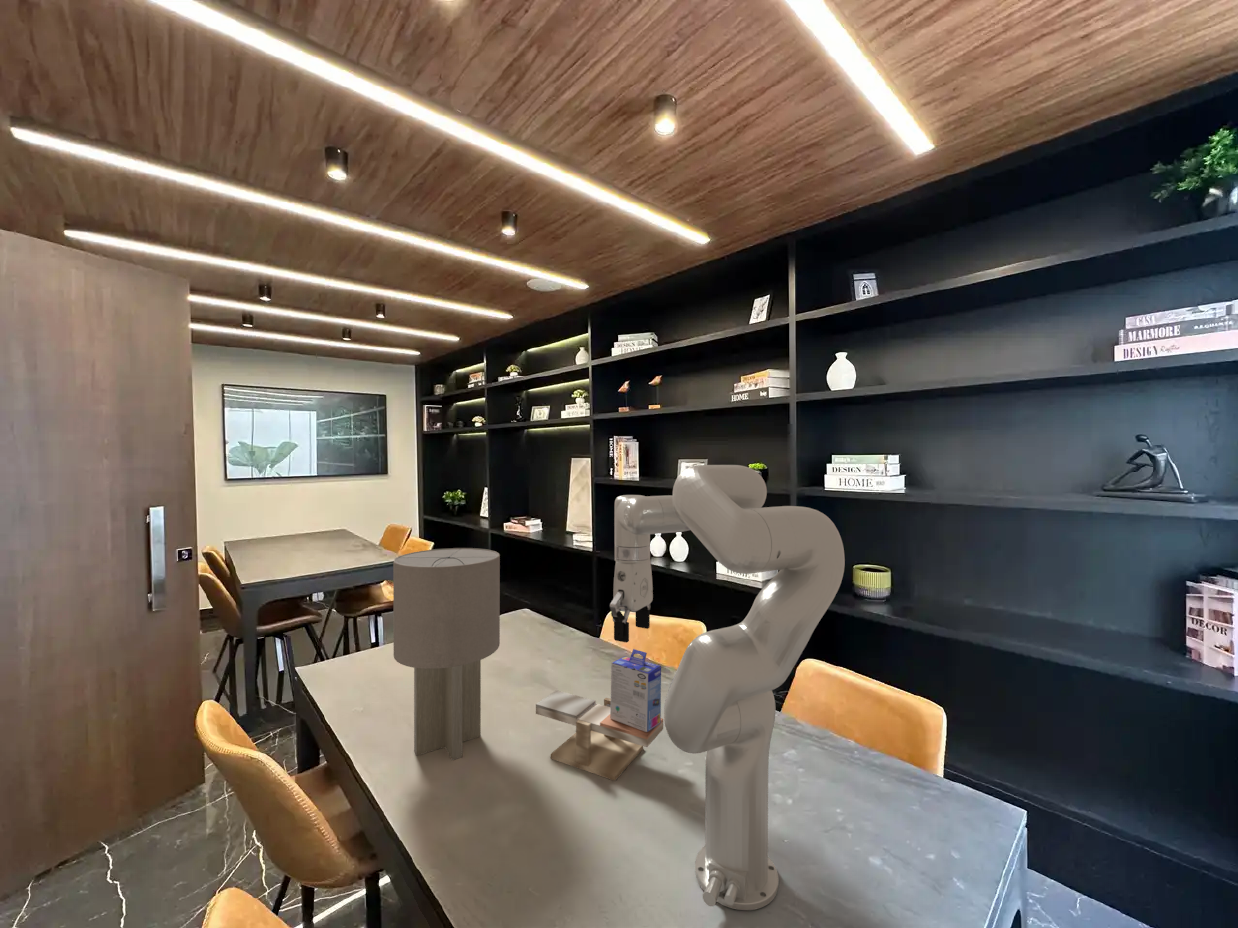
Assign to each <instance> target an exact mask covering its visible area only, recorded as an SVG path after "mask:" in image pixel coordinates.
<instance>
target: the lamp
mask: <svg viewBox="0 0 1238 928" xmlns="http://www.w3.org/2000/svg"><path fill="white" fill-rule="evenodd" d="M500 556H501V554H500V553H499V552H497V551H495V550H491V549H486V548H475V547H474V548H473V547H453V548H435V549H428V550H427V549H425V550H421V551H413V552H409V553H405V554H402V555H399V556H398V557H395V558H394V559H393V571H392V573H393V580H392V581H393V659H394V660H395V661H396V662H397V663H398V664H400V665H402V666H405V667H409V668H413V669H414V670H413V697H414V698H413V705H414V706H413V708H414V710H413V721H414V723H413V726H414V727H413V730H414V731H413V732H414V733H413V734H414V736H413V745H414V746H413V752H414V753H415V755H416V756H417V757H418V756H420V755H423V754H427V753H430V752H434V751H436V750H441V749H443V748H444V749H445V750H446V752H447V754H448V756H449V758H450V759H451V761H454V760H458V759H460V758H463V743H464V742H466V741H470V740H473V739H476V738H480V737H481V736H482V735H481V734H482V733H481V729H482V728H481V727H482V726H481V722H482V721H481V720H482V718H481V715H482V714H481V713H482V712H481V710H482V708H481V704H482V703H481V697H482V695H481V691H482V689H481V685H482V684H481V683H482V682H481V681H482V680H481V679H482V678H481V675H482V674H481V672H482V667H481V662H482V660H484V659H486V658H488V657H490V656H491V655H493V654H494V653H496V652H497V650H498V649H499V648H500V644H501V643H500V640H501V639H500V637H501V635H500V631H501V630H500V629H501V628H500V627H501V626H500V625H501V624H500V620H501V619H500V617H501V615H500V614H501V612H500V611H501V609H500V608H501V607H500V605H501V604H500V603H501V601H500V598H501V597H500V596H501V592H500V591H501V590H500V589H501V586H500V585H501V582H500V581H501V580H500V579H501V578H500V577H501V575H500V573H501V572H500V569H501V565H500V563H501V561H500V560H501V559H500V558H501V557H500Z"/></svg>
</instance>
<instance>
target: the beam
mask: <svg viewBox="0 0 1238 928" xmlns="http://www.w3.org/2000/svg"><path fill="white" fill-rule="evenodd" d="M610 707H611V705H609V704H607V705H606V706H604V704H600V703H597V702H596V700H594V699H592V698H587V697H583V696H580V695H576V694H573V693H569V692H566V691H565V692H564V691H561V690H557V689H556V690H555V691H553V692H552V693H550V694H548V695H547V696H546V697H544V698H542V699H541V700H540V701H538V702H537V703H535V715H538V716H541V717H545V718H549V719H552V720H555V721H559V722H562V723H565V724H569V725H572V726H575V727H576V722H577V721H578V720H581V721H585V722H588V723H591V731H595V732H598V733H601V734H604V735H608V736H611V737H614V738H618V739H621V740H624V741H628V742H631V743H634V744H638V745H641V746H643V748H648V747H649V746H650V745H651V744H652V743H653V741H654V740H655V739H656V738H657V737H658V735H659V734H660V733H661V732H662V731H663V730H664V718H662V717H661V723H660V724H659V725H657V726H656V727H654V728H653V729H651V730H650V731H648V732H644V731H642V730H639V729H636V728H634V727H631V726H629V725H626V724H623V723H621V722H618V721H615V720H613V719H610Z"/></svg>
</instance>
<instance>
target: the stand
mask: <svg viewBox="0 0 1238 928" xmlns="http://www.w3.org/2000/svg"><path fill="white" fill-rule="evenodd" d="M607 704H609V705H611V697H610V698H609V697H605V698H604V699H603V705H604V706H606V705H607ZM575 728H576V729H575V733H573V734H572V735H571V736H570V737H569V738H567V739H566V740H565V741H564V742H563V743H562V744H560V745H559V746H558V747H557V748H556V749H555V750H553V751H552V752H551V753H550V760H554V761H556V762H559V763H561V764H566V765H568V766H571V767H574V768H576V769H580V770H582V771H585V772H587V773H591V774H594V775H597V776H600V777H602V778H606V779H608V780H611V781H617V779H618V778H619V777H620V776H621V774H623V772H624V771H625V770H626V769H627V768H628V767H629V766H630V764H631V763H633V762H634V760H635V759H636V758H637V757H638V755H639V754H640V753H641V752H642V751H644V746H641V745H638V744H634V743H631V742H628V741H624V740H621V739H618V738H614V737H611V736H608V735H604V734H601V733H598V732H595V731H591V723H588V722H585V721H581V720H578V721H577V722H576V726H575Z"/></svg>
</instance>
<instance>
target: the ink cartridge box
mask: <svg viewBox="0 0 1238 928" xmlns="http://www.w3.org/2000/svg"><path fill="white" fill-rule="evenodd" d="M647 654H648V652H646V651H641V650H639V649H635V648H633V649H632V652H631V653H630V656H629V657H628V656H623V657H620V658H619V659H616V660H614V661H612V662H611V665H610V669H611V670H610V672H611V673H610V699H611V707H610V719H613V720H615V721H618V722H621V723H623V724H626V725H629V726H631V727H634V728H636V729H639V730H642V731H644V732H648V731H650V730H651V729H653V728H654V727H656V726H657V725H659V724H660V723H661V718H662V713H661V712H662V709H661V708H662V707H661V706H662V700H661V699H662V698H661V697H662V694H661V693H662V666H661V665H660V664H656V663H652V662H648V661H646V659H647ZM635 655H639V656H641V657H642V658H639V657H635Z"/></svg>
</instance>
